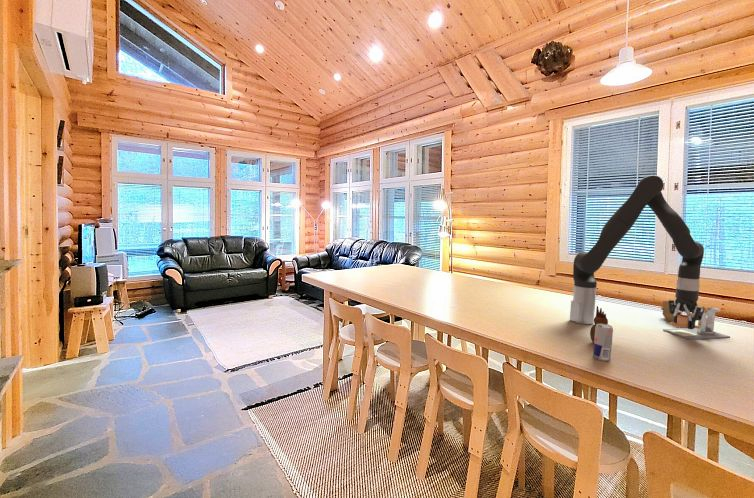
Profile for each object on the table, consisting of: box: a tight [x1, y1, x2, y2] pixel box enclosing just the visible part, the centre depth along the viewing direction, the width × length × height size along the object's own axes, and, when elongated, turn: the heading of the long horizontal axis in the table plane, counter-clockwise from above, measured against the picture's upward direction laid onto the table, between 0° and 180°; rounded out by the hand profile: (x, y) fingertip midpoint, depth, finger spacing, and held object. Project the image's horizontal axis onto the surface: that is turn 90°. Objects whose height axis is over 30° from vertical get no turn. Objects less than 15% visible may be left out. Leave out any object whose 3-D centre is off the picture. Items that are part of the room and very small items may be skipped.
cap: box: [669, 314, 700, 329], centre depth 158 cm, size 10×5×5 cm, turn 60°
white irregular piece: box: [697, 307, 722, 334], centre depth 160 cm, size 11×5×10 cm, turn 99°
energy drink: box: [592, 324, 614, 362], centre depth 131 cm, size 5×5×12 cm
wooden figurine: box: [589, 305, 609, 344], centre depth 145 cm, size 7×6×15 cm
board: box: [662, 327, 731, 341], centre depth 160 cm, size 20×12×1 cm, turn 99°
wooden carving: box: [660, 300, 683, 323], centre depth 177 cm, size 16×5×10 cm, turn 168°
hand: (683, 326), depth 158 cm, fingers closed on cap, 5 cm apart
